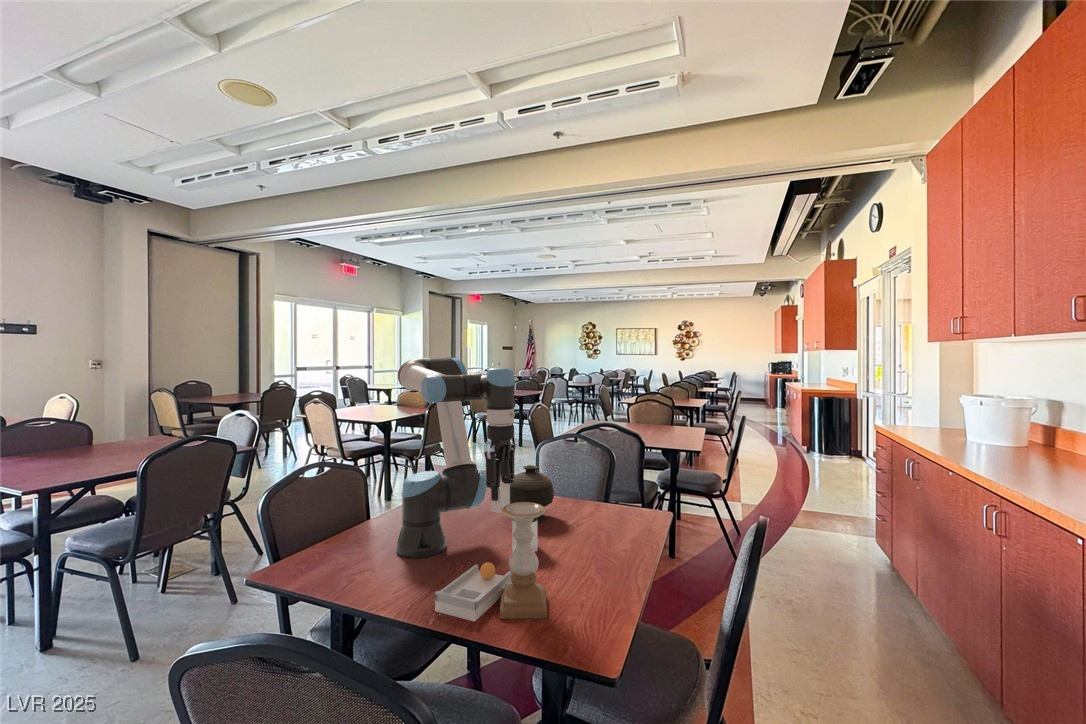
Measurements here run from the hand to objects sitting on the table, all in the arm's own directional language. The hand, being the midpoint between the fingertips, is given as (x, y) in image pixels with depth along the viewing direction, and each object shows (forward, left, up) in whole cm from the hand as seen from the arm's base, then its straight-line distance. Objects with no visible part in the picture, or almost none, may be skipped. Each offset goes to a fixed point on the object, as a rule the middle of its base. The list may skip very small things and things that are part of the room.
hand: (500, 509), depth 130 cm
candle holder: (+13, -12, -19) cm, 26 cm away
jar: (-2, +20, -19) cm, 28 cm away
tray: (0, -13, -19) cm, 23 cm away
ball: (0, -7, -14) cm, 16 cm away
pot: (-13, +47, -19) cm, 52 cm away
